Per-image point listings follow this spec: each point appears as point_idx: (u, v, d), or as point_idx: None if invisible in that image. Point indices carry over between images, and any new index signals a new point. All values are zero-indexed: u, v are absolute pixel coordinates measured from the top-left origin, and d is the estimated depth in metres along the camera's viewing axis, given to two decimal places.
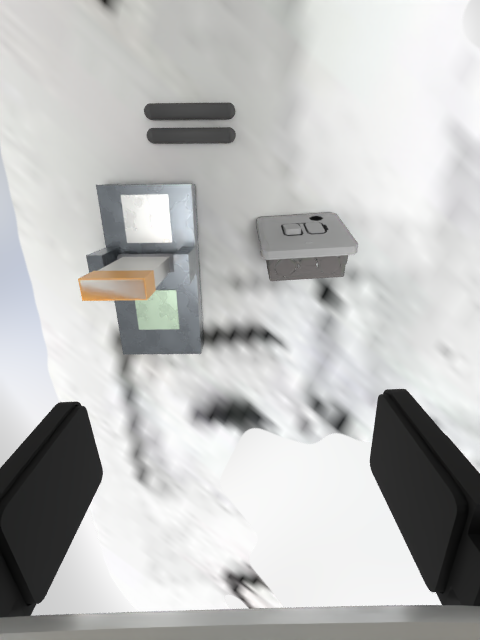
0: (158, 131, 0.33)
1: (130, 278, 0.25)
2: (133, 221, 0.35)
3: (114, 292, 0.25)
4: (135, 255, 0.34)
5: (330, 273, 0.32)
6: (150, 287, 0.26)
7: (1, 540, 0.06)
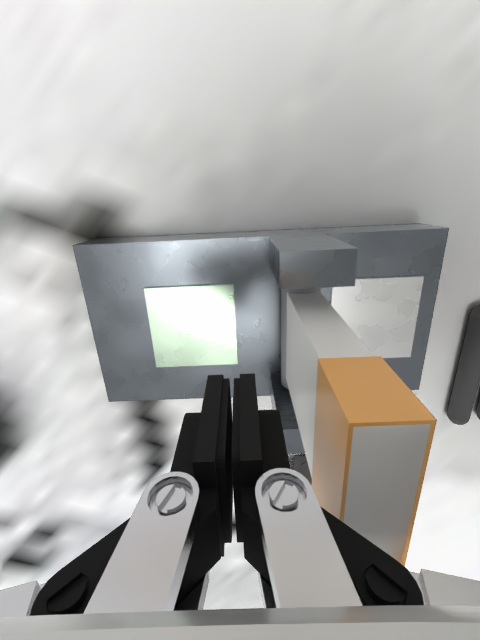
0: None
1: (405, 548, 0.08)
2: (372, 295, 0.18)
3: (369, 514, 0.08)
4: None
5: None
6: None
7: (221, 481, 0.07)
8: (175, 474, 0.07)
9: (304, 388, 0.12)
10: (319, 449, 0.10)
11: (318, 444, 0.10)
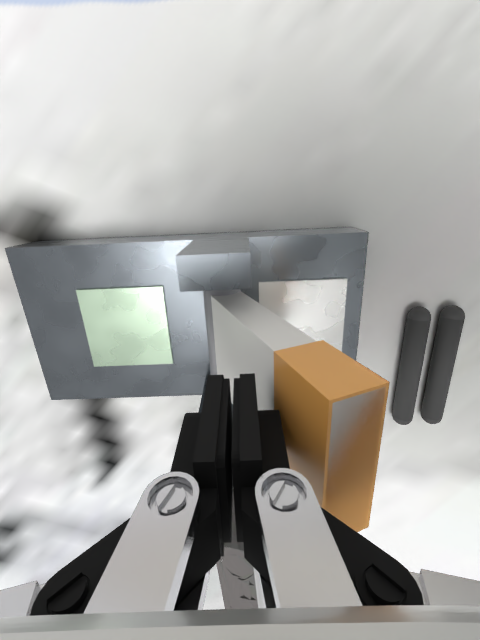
0: (426, 330, 0.21)
1: (369, 498, 0.09)
2: (299, 297, 0.18)
3: (344, 478, 0.09)
4: None
5: (231, 606, 0.22)
6: None
7: (221, 481, 0.07)
8: (175, 474, 0.07)
9: None
10: (284, 435, 0.10)
11: None
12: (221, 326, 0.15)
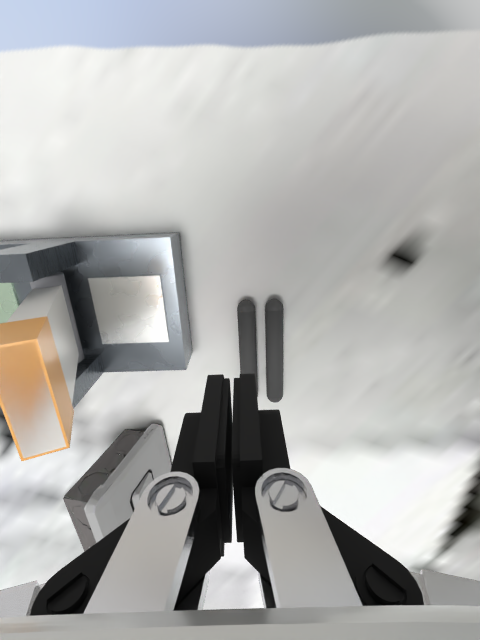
0: (250, 319, 0.25)
1: (62, 425, 0.14)
2: (123, 290, 0.22)
3: (23, 406, 0.13)
4: (68, 302, 0.21)
5: None
6: None
7: (221, 481, 0.07)
8: (175, 474, 0.07)
9: None
10: None
11: None
12: None
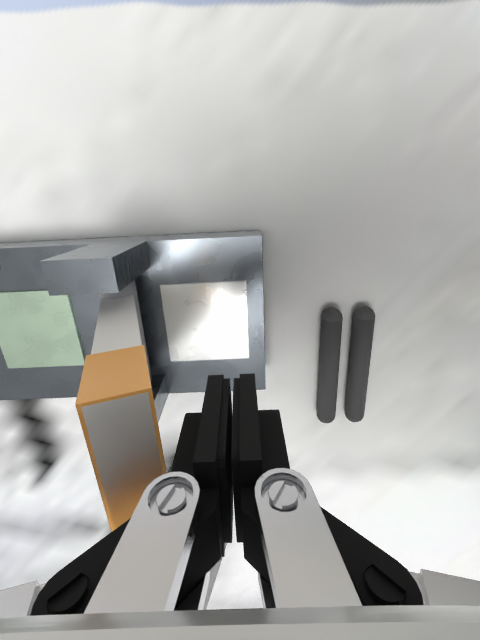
0: (338, 330, 0.22)
1: None
2: (201, 299, 0.19)
3: (125, 479, 0.09)
4: (139, 315, 0.18)
5: None
6: None
7: (221, 481, 0.07)
8: (175, 474, 0.07)
9: None
10: None
11: None
12: None
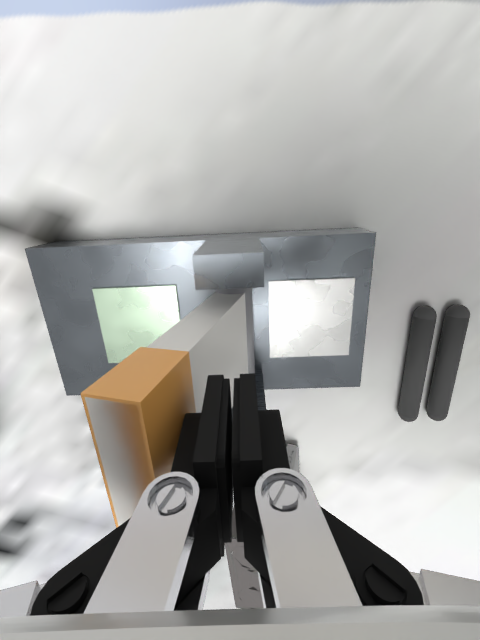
0: (432, 328, 0.21)
1: None
2: (307, 296, 0.19)
3: (121, 476, 0.09)
4: (248, 314, 0.17)
5: (240, 597, 0.23)
6: None
7: (221, 481, 0.07)
8: (175, 474, 0.07)
9: None
10: None
11: None
12: None
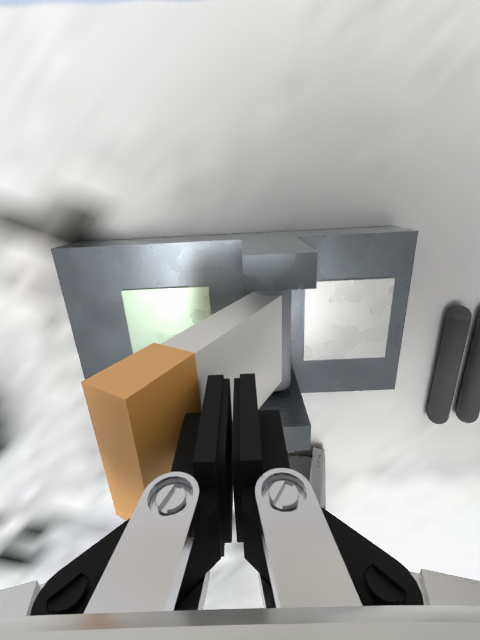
0: (467, 329, 0.21)
1: None
2: (345, 297, 0.18)
3: (116, 466, 0.10)
4: (285, 317, 0.17)
5: None
6: None
7: (221, 481, 0.07)
8: (175, 474, 0.07)
9: None
10: None
11: None
12: None
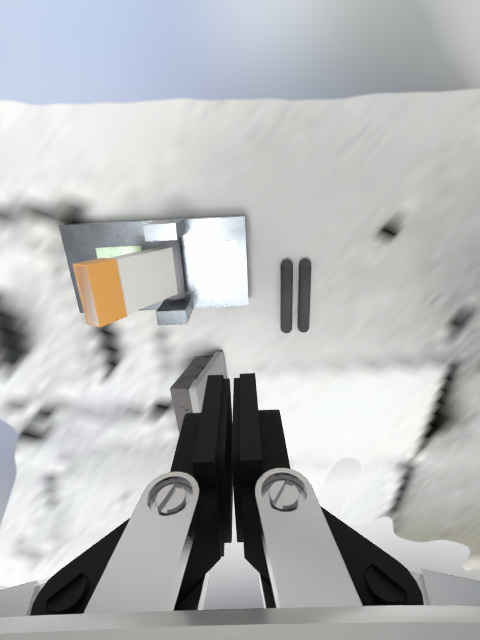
0: (290, 272, 0.38)
1: (97, 314, 0.26)
2: (212, 251, 0.35)
3: (85, 297, 0.26)
4: (176, 259, 0.33)
5: None
6: None
7: (221, 481, 0.07)
8: (175, 474, 0.07)
9: None
10: None
11: None
12: None
